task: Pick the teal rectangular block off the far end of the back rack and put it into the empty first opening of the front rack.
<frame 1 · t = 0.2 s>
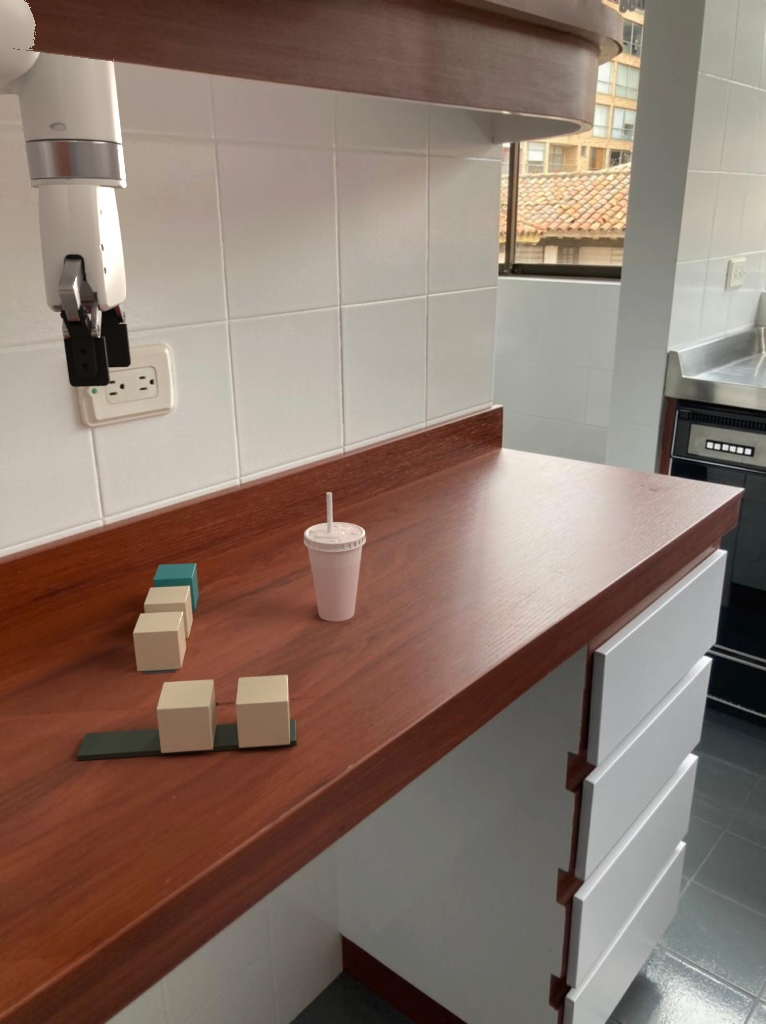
hand: (102, 375, 73), 27 cm above the counter, tool pointing down, fingers open, 9 cm apart
teal rectangular block: (178, 604, 89), resting on left rack
right rack: (190, 742, 66), on the counter
smoothie: (336, 618, 87), on the counter
left rack: (171, 634, 83), on the counter
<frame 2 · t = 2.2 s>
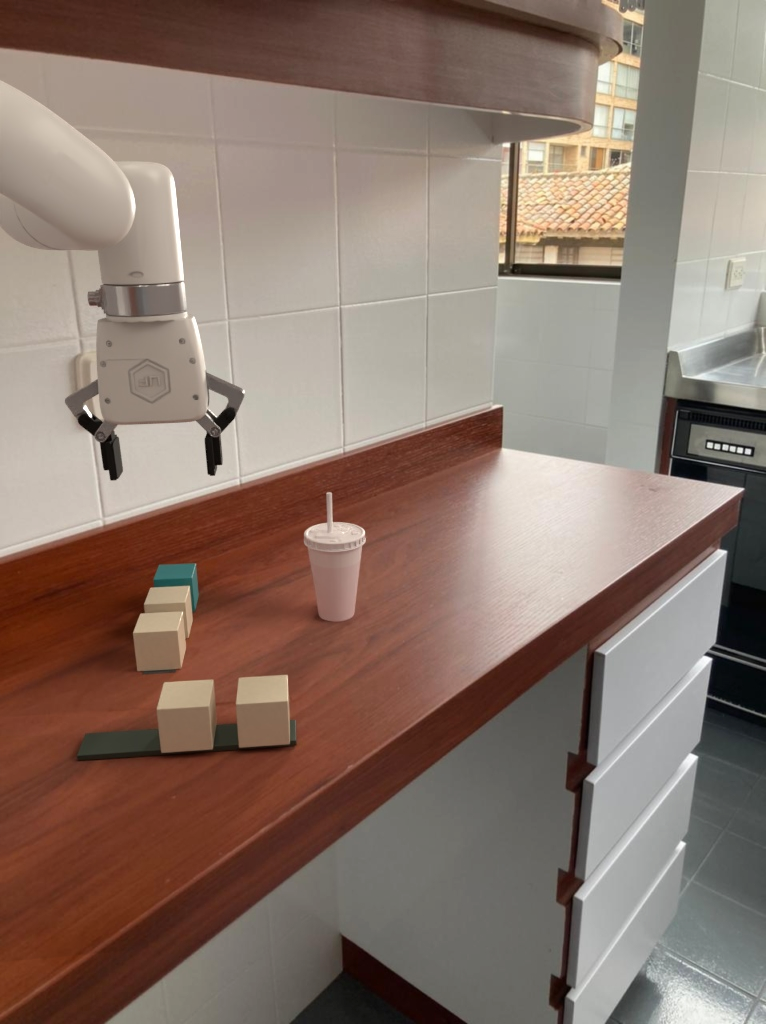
hand: (165, 474, 83), 15 cm above the counter, tool pointing down, fingers open, 9 cm apart
nothing on the counter moved.
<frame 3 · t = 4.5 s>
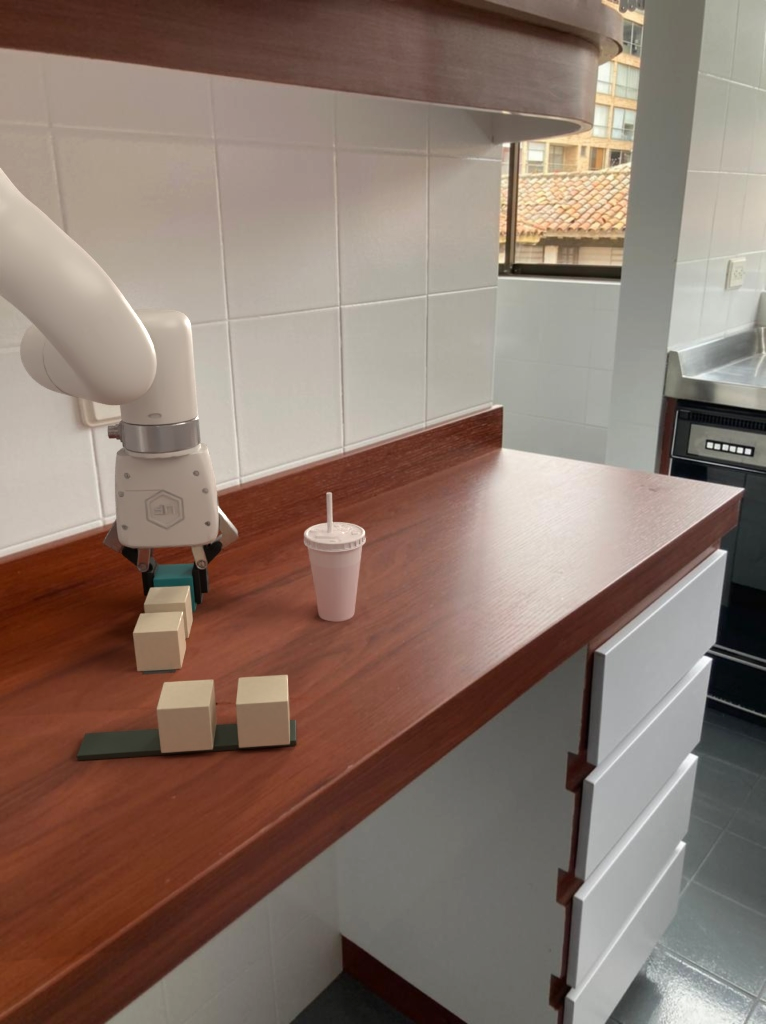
hand: (177, 598, 88), 1 cm above the counter, tool pointing down, fingers closed on teal rectangular block, 4 cm apart
teal rectangular block: (178, 604, 89), point 1 cm above the counter, touching gripper, left rack
everything else where it was.
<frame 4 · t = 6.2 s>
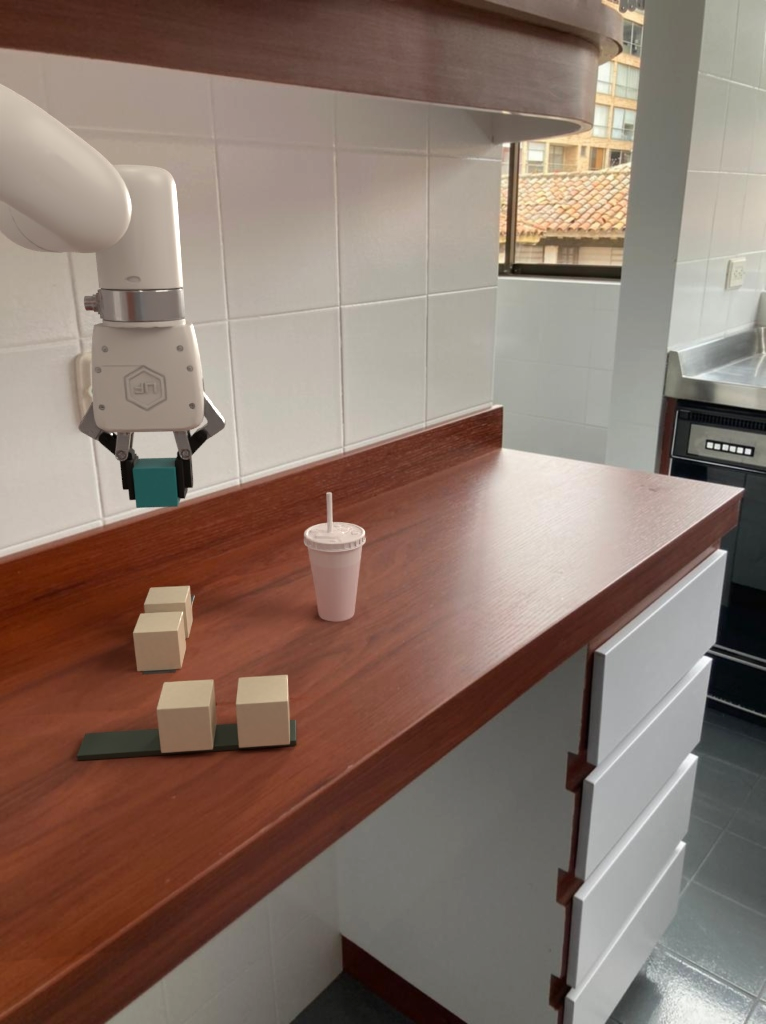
hand: (159, 493, 82), 14 cm above the counter, tool pointing down, fingers closed on teal rectangular block, 4 cm apart
teal rectangular block: (159, 501, 82), point 13 cm above the counter, touching gripper
everything else where it was.
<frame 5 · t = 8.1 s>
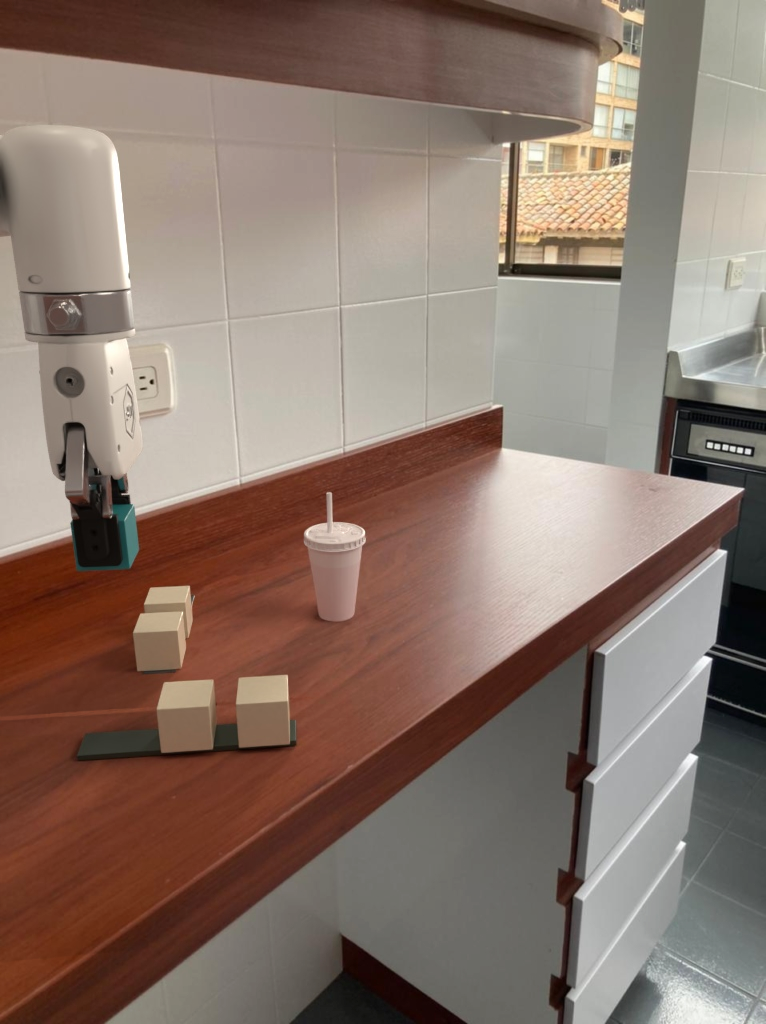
hand: (107, 551, 64), 15 cm above the counter, tool pointing down, fingers closed on teal rectangular block, 4 cm apart
teal rectangular block: (108, 560, 65), point 14 cm above the counter, touching gripper
everything else where it was.
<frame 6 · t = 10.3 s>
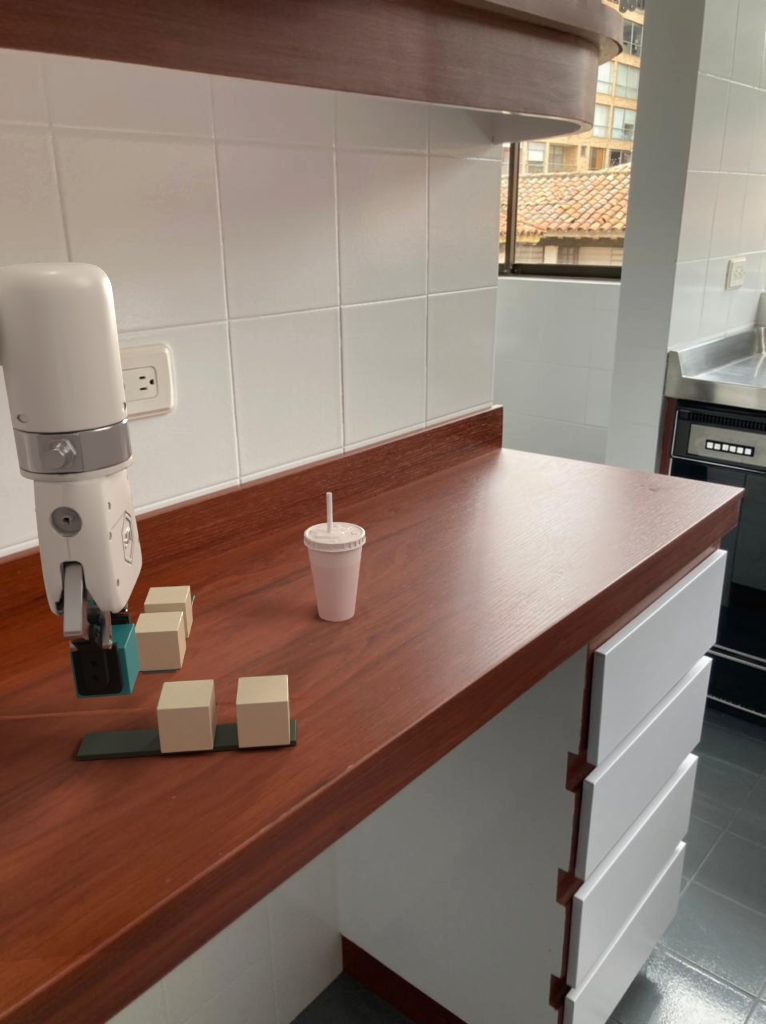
hand: (107, 674, 63), 7 cm above the counter, tool pointing down, fingers closed on teal rectangular block, 4 cm apart
teal rectangular block: (109, 683, 63), point 6 cm above the counter, touching gripper
everything else where it was.
when the fingers open (1 cm above the counter, at t = 11.9 s): teal rectangular block stays where it is, resting on right rack.
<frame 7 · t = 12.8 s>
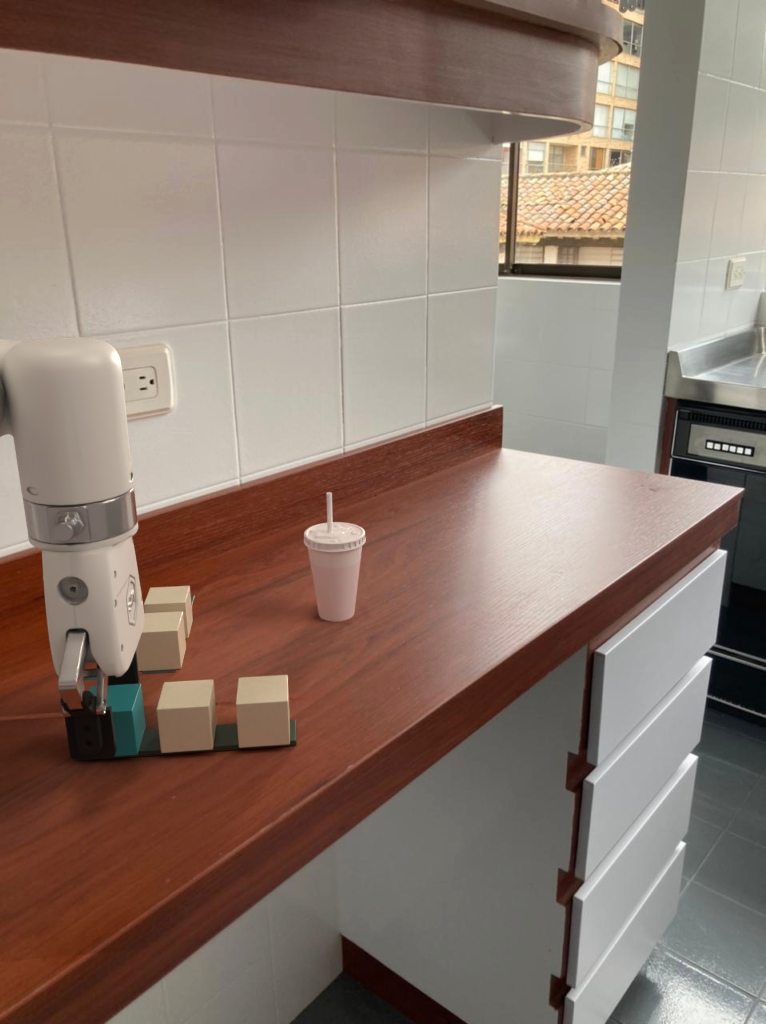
hand: (108, 718, 64), 3 cm above the counter, tool pointing down, fingers open, 9 cm apart
teal rectangular block: (116, 741, 65), resting on right rack
everything else where it was.
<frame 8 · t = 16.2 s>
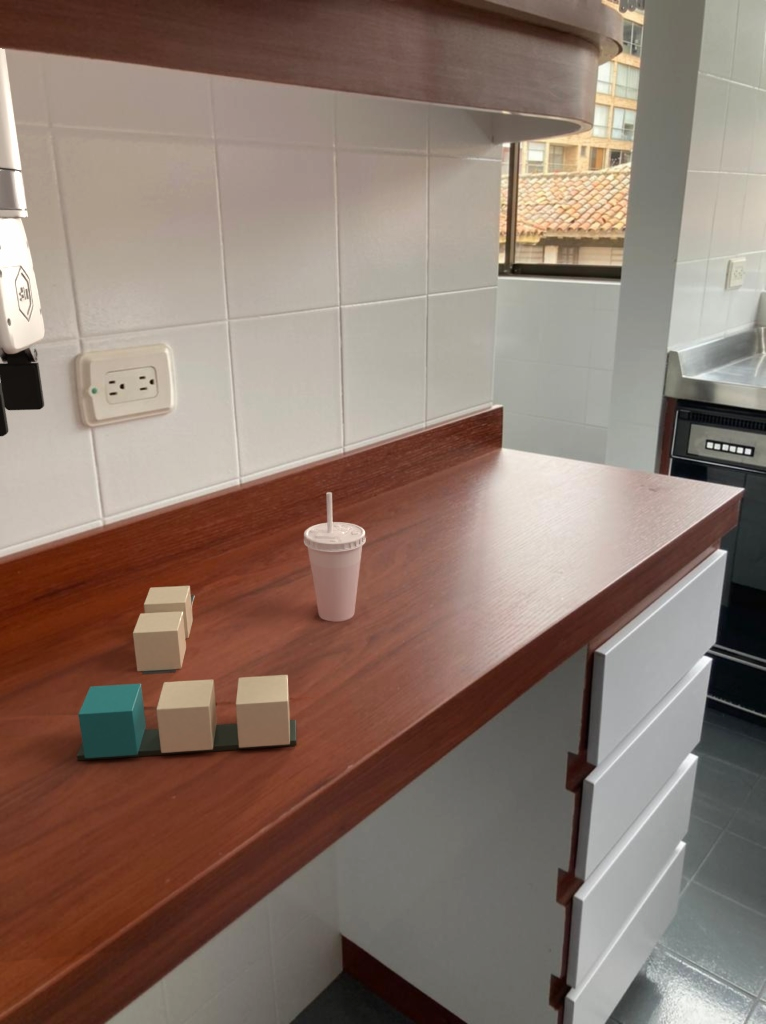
hand: (7, 421, 67), 24 cm above the counter, tool pointing down, fingers open, 9 cm apart
nothing on the counter moved.
at the end: teal rectangular block 0.2 cm from the target spot on the right rack, point 0.5 cm above the right rack's base; teal rectangular block tilted 0°; the gripper is holding nothing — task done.
